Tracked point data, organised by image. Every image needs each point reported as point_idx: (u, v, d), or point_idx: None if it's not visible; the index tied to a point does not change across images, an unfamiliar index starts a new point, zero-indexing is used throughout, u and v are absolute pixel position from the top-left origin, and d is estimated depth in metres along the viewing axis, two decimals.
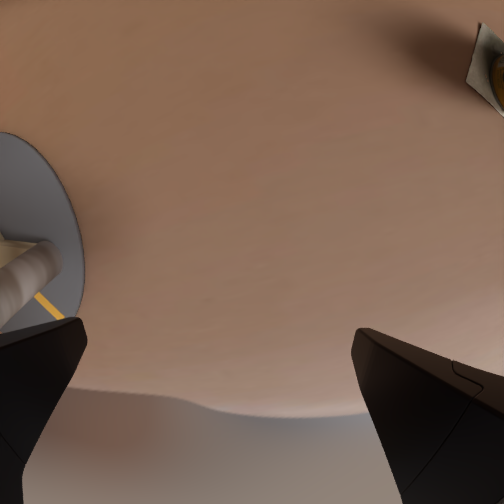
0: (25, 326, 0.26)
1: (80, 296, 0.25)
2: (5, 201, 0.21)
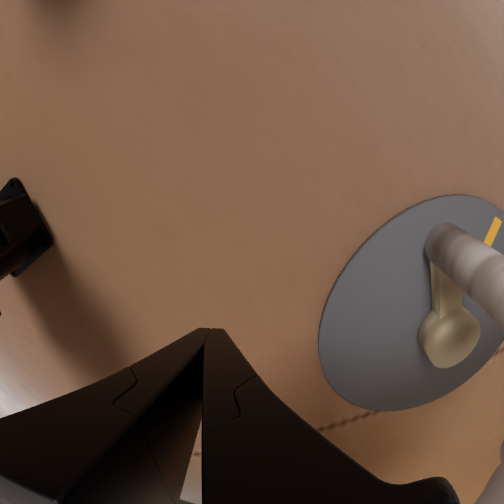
0: None
1: (471, 197, 0.19)
2: (392, 318, 0.23)
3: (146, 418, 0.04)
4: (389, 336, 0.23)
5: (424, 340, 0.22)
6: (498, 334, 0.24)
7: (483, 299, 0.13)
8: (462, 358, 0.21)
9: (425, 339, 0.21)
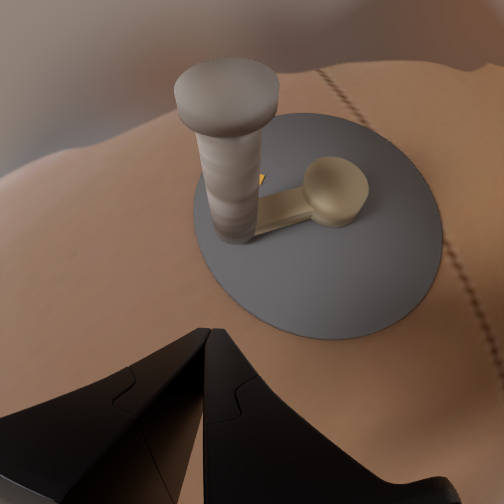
0: (268, 134, 0.28)
1: (194, 200, 0.25)
2: (322, 261, 0.23)
3: (145, 418, 0.04)
4: (344, 259, 0.23)
5: (340, 220, 0.23)
6: (339, 128, 0.29)
7: (238, 186, 0.16)
8: (355, 168, 0.23)
9: (339, 219, 0.23)
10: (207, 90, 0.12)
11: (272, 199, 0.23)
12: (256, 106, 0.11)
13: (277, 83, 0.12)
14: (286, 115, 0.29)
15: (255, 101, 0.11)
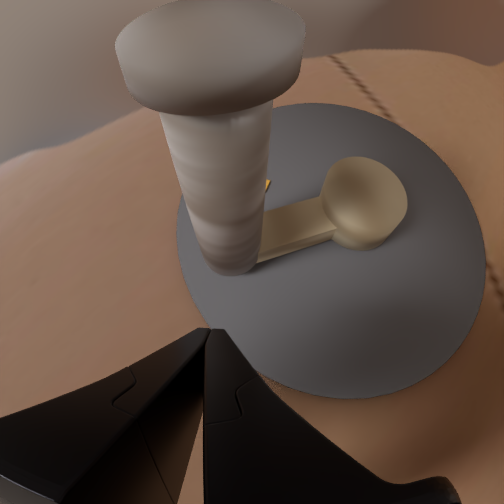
0: (273, 128, 0.22)
1: None
2: (347, 297, 0.17)
3: (145, 418, 0.04)
4: (374, 293, 0.17)
5: (372, 242, 0.17)
6: (360, 122, 0.23)
7: (232, 202, 0.10)
8: (389, 172, 0.17)
9: (369, 241, 0.17)
10: (172, 33, 0.06)
11: (281, 214, 0.17)
12: (266, 52, 0.05)
13: (301, 23, 0.06)
14: (296, 105, 0.23)
15: (261, 45, 0.05)
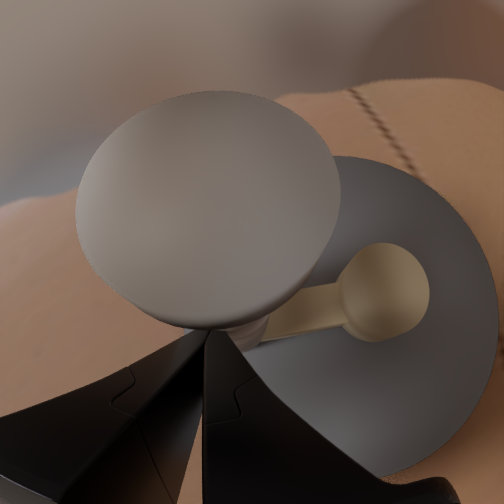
0: None
1: None
2: (357, 389, 0.16)
3: (144, 418, 0.04)
4: (385, 384, 0.16)
5: (381, 339, 0.15)
6: (383, 180, 0.21)
7: (230, 333, 0.09)
8: (417, 266, 0.16)
9: (379, 338, 0.15)
10: (147, 197, 0.05)
11: (293, 298, 0.16)
12: (264, 286, 0.04)
13: (335, 196, 0.05)
14: None
15: (262, 263, 0.04)
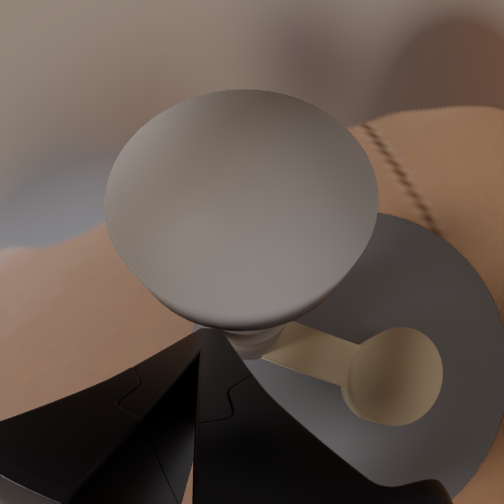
0: None
1: None
2: (361, 466, 0.14)
3: (151, 419, 0.04)
4: (389, 459, 0.14)
5: (367, 419, 0.14)
6: (400, 238, 0.20)
7: None
8: (439, 371, 0.13)
9: (365, 417, 0.14)
10: (182, 168, 0.05)
11: (311, 337, 0.15)
12: (226, 300, 0.04)
13: (352, 256, 0.04)
14: None
15: (237, 280, 0.04)
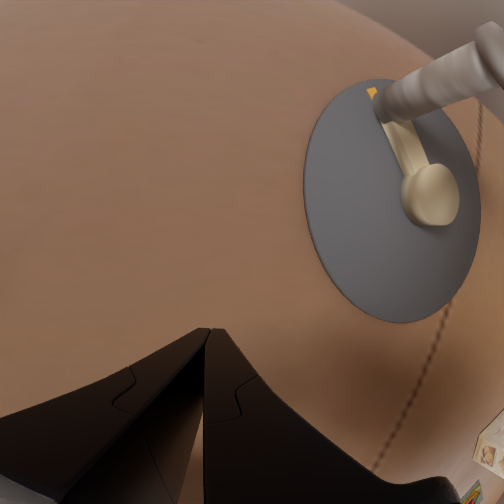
0: None
1: (336, 96, 0.22)
2: (382, 231, 0.24)
3: (145, 418, 0.04)
4: (394, 245, 0.24)
5: (411, 200, 0.22)
6: (462, 156, 0.26)
7: (436, 81, 0.15)
8: (454, 214, 0.22)
9: (411, 198, 0.22)
10: (501, 40, 0.10)
11: (415, 138, 0.22)
12: None
13: None
14: (440, 109, 0.25)
15: None
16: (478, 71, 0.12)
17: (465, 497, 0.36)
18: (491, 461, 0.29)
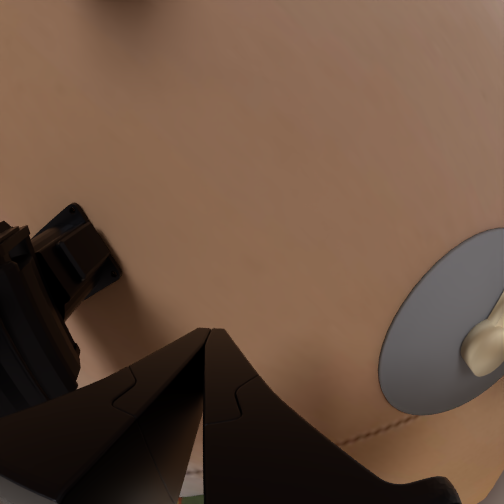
0: None
1: None
2: (442, 335, 0.23)
3: (145, 418, 0.04)
4: (438, 350, 0.24)
5: (476, 338, 0.22)
6: None
7: None
8: (484, 374, 0.22)
9: (478, 337, 0.22)
10: None
11: None
12: None
13: None
14: None
15: None
16: None
17: None
18: None
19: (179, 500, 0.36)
